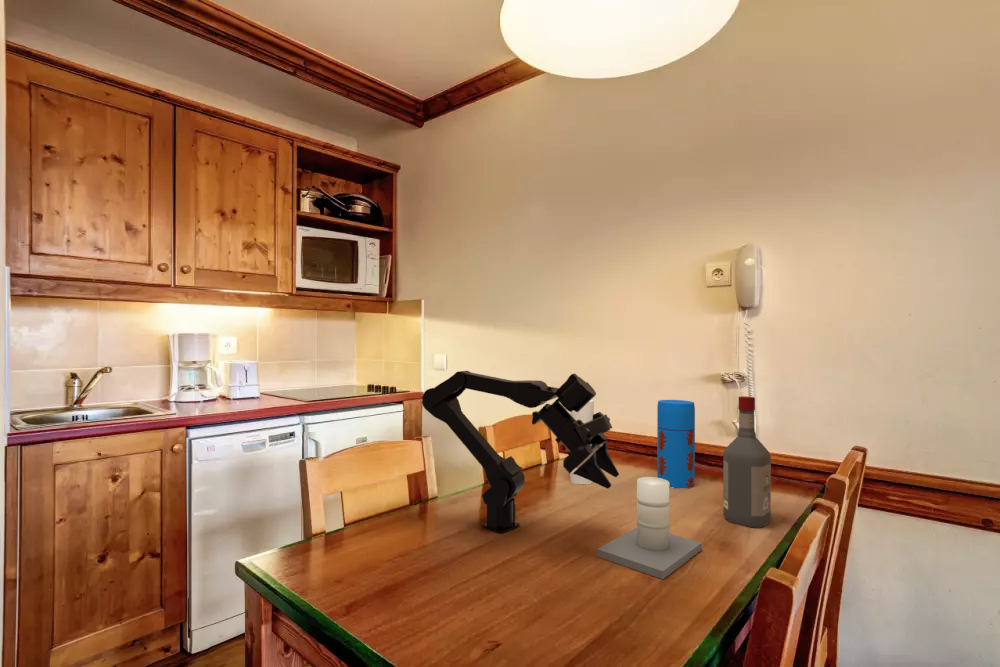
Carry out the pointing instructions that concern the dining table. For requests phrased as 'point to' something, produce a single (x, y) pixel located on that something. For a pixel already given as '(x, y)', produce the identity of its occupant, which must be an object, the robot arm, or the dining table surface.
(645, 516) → the tumbler stack
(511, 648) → the dining table surface
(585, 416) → the cylindrical container
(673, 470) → the thermos
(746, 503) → the liquor
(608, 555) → the shelf board
